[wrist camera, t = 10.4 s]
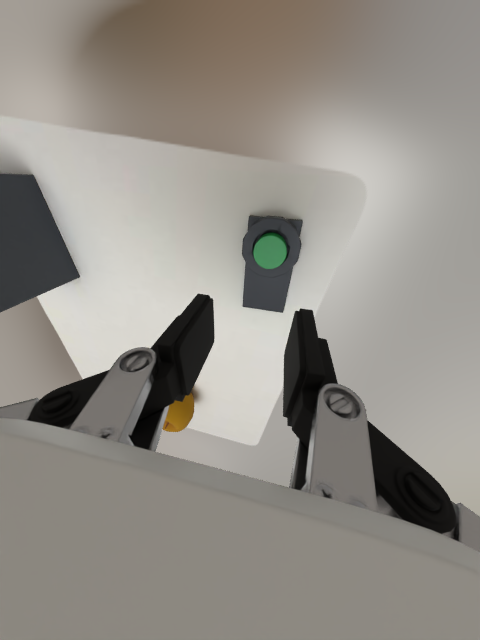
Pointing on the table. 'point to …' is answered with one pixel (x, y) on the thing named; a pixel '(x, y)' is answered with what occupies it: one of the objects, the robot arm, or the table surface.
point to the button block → (269, 284)
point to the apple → (179, 414)
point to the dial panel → (29, 243)
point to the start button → (270, 250)
